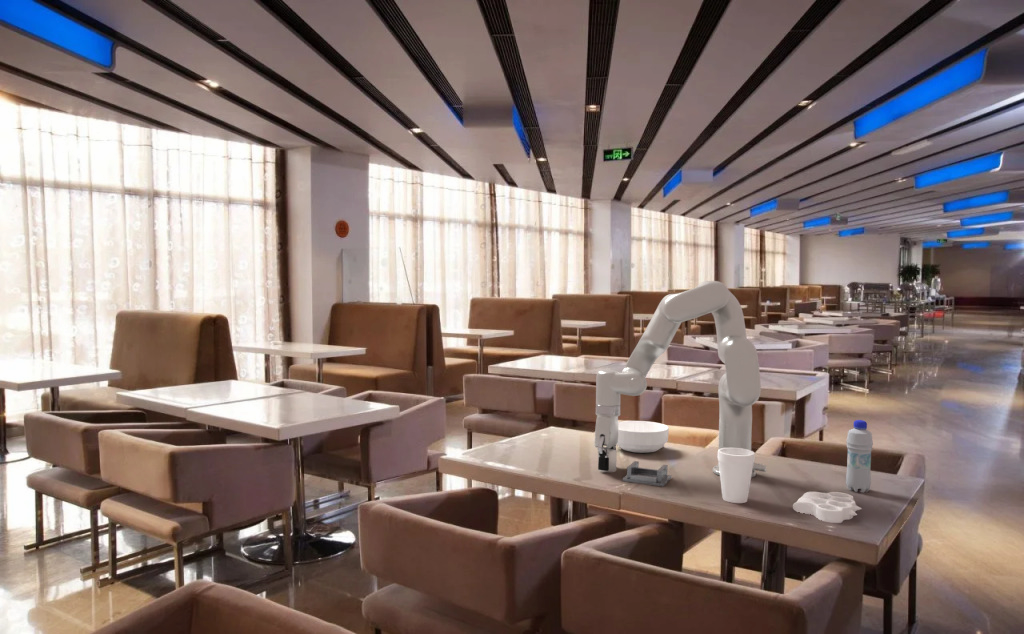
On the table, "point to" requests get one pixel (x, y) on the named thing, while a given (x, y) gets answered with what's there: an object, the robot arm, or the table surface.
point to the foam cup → (735, 473)
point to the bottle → (859, 457)
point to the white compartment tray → (827, 506)
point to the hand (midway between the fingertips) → (607, 466)
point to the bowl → (641, 436)
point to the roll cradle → (647, 475)
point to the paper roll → (611, 461)
